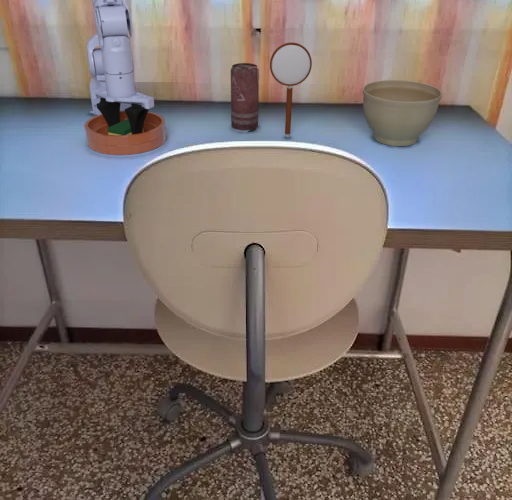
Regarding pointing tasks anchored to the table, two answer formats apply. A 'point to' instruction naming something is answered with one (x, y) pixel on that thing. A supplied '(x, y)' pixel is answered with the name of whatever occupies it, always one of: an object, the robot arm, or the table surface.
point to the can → (244, 96)
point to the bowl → (125, 136)
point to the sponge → (121, 128)
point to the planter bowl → (399, 110)
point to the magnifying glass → (290, 71)
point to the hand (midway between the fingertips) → (126, 136)
